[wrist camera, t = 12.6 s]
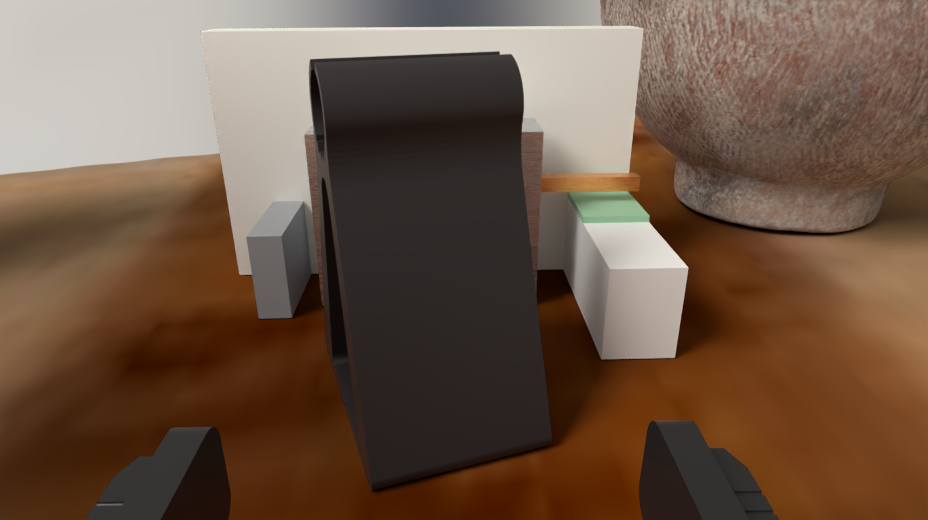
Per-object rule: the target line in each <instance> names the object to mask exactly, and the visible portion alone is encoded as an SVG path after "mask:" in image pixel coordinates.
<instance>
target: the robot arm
mask: <svg viewBox="0 0 928 520" xmlns="http://www.w3.org/2000/svg"><path fill="white" fill-rule="evenodd" d="M639 500H640V508H641V513H642V517H643V520H779V519H778V517H777V516H776V515H774V514H773V509H772V507H771V506H770V504H769V503H768V501H767V499H766V498H765V496H762V494H761V490H760V488H759V486H758V485H757V483H756V481H755V480H754V478H753V477H752V475H751V473H750V472H749V470H748V468H747V467H745V466H744V465H743V464H742V463H741V462H740V461H738V460H737V459H736V458H735V457H734V456H732V455H731V454H730V453H729V452H728V451H726V450H725V449H724V448H709V447H708V445H707V443H706V441H705V440H704V438H703V436H702V434H701V432H700V431H699V429H698V427H697V425H696V424H695V423H694V422H693V421H651V422H650V424H649V426H648V430H647V436H646V443H645V450H644V456H643V463H642V469H641V476H640V483H639ZM230 502H231V495H230V487H229V481H228V476H227V471H226V465H225V460H224V455H223V449H222V444H221V438H220V434H219V431H218V430H217V428H216V427H174V428H171V429H170V430H169V431H168V433H167V434H166V435H165V437H164V439H163V440H162V442H161V444H160V445H159V447H158V448H157V450H156V452H155V453H154V455H153V456H152V457H138V458H137V459H136V460H134V461H133V462H132V463H131V464H129V465H128V466H127V467H126V468H125V469H123V470H122V471H121V472H120V473H118V474H117V475H116V476H115V477H114V478H113V479H112V480H111V482H110V483H109V485H108V486H107V488H106V489H105V491H104V492H103V494H102V495H101V497H100V498H99V500H98V501H97V506H96V507H93V509H92V510H91V512H90V513H89V515H88V516H87V518H86V519H85V520H228V518H229V512H230Z"/></svg>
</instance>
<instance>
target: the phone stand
mask: <svg viewBox="0 0 928 520" xmlns="http://www.w3.org/2000/svg"><path fill="white" fill-rule="evenodd" d="M309 91H310V103H311V112H312V121H313V130H314V139H315V151H316V165H317V183H318V202H319V221H320V239H321V258H322V276H323V295H324V314H325V332H326V344H327V349H328V353H329V356H330V359H331V363H332V366H333V369H334V372H335V376H336V379H337V382H338V385H339V389H340V392H341V395H342V398H343V402H344V405H345V406H346V410H347V415H348V418H349V421H350V424H351V428H352V431H353V434H354V437H355V441H356V444H357V447H358V450H359V454H360V457H361V460H362V463H363V467H364V470H365V473H366V476H367V480H368V483H369V486H370V489H371V491H372V490H376V489H380V488H384V487H388V486H392V485H396V484H400V483H404V482H408V481H411V480H415V479H419V478H423V477H427V476H431V475H435V474H439V473H443V472H447V471H451V470H455V469H458V468H462V467H466V466H470V465H474V464H478V463H482V462H486V461H490V460H494V459H498V458H501V457H505V456H509V455H513V454H517V453H521V452H525V451H529V450H533V449H537V448H541V447H545V446H548V445H551V444H552V432H551V423H550V414H549V405H548V396H547V387H546V378H545V369H544V360H543V351H542V342H541V333H540V324H539V315H538V306H537V297H536V288H535V279H534V270H533V261H532V252H531V243H530V234H529V225H528V216H527V207H526V198H525V189H524V180H523V171H522V157H521V137H522V123H523V114H524V92H523V84H522V79H521V74H520V71H519V68H518V65H517V62H516V60H515V59H514V57H513V56H512V54H501V55H500V51H495V52H471V53H447V54H422V55H398V56H374V57H349V58H325V59H310V62H309Z"/></svg>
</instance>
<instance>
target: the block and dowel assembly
mask: <svg viewBox="0 0 928 520" xmlns="http://www.w3.org/2000/svg"><path fill="white" fill-rule="evenodd" d="M543 135H544V131H543V130H542V129H541V127H540V126H539V124H538V123H537V121H536V120H535V118H523V123H522V137H521V157H522V171H523V180H524V189H525V198H526V207H527V216H528V225H529V234H530V243H531V252H532V261H533V270H534V279H535V288H537V266H538V244H539V222H540V201H541V193H545V192H615V191H639V184H640V176H639V175H638V174H637V173H583V174H542V157H543ZM304 139H305V148H306V158H307V167H308V177H309V186H310V196H311V205H312V214H313V224H314V233H315V243H316V252H317V262H318V271H319V280H320V290H321V299H322V305H324V295H323V276H322V258H321V239H320V221H319V202H318V183H317V165H316V151H315V139H314V130H313V125H312V126H311V127H310V128H309V130H308V131H307V132H306V133H305V134H304Z"/></svg>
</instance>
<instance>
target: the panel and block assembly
mask: <svg viewBox="0 0 928 520" xmlns="http://www.w3.org/2000/svg"><path fill="white" fill-rule="evenodd" d="M643 30H644V28H639V27H635V26H536V27H535V26H530V27H529V26H528V27H527V26H526V27H390V28H389V27H385V28H381V27H380V28H241V29H240V28H238V29H211V30H206V31H201V32H200V33H201V40H202V45H203V52H204V58H205V64H206V71H207V77H208V83H209V89H210V95H211V101H212V108H213V114H214V120H215V126H216V132H217V139H218V145H219V151H220V157H221V164H222V170H223V176H224V182H225V188H226V195H227V201H228V207H229V213H230V219H231V226H232V232H233V238H234V244H235V250H236V256H237V263H238V269H239V275H252V278H253V285H254V291H255V298H256V304H257V311H258V317H259V319H266V318H292V317H293V314H294V312H295V310H296V308H297V305H298V303H299V301H300V299H301V296H302V294H303V292H304V290H305V288H306V285H307V283H308V281H309V279H310V276H311V274H319V271H318V262H317V252H316V243H315V233H314V224H313V214H312V205H311V196H310V186H309V177H308V167H307V158H306V148H305V139H304V134H305V133H306V132H307V131H308V130H309V128H310V127H311V126H312V125H313V121H312V112H311V103H310V91H309V62H310V59H325V58H349V57H374V56H398V55H422V54H447V53H471V52H495V51H500V55H501V54H512V56H513V57H514V59H515V60H516V62H517V65H518V68H519V71H520V74H521V79H522V84H523V92H524V114H523V118H535V120H536V121H537V123H538V124H539V126H540V127H541V129H542V130H543V131H544V135H543V157H542V174H583V173H629V167H630V157H631V147H632V138H633V128H634V118H635V108H636V99H637V89H638V79H639V69H640V60H641V50H642V40H643ZM649 218H650V216H649V215H648V213H647V212H646V211H645V210H644V209H643V208H642V207H641V206H640V204H639V203H638V202H637V201H636V200H635V199H634V198H633V197H632V196H631V194H630V193H629V192H628V191H615V192H545V193H541V201H540V222H539V244H538V266H537V270H547V269H563V270H564V273H565V275H566V277H567V280H568V282H569V285H570V287H571V289H572V292H573V294H574V296H575V299H576V301H577V303H578V306H579V308H580V310H581V313H582V315H583V317H584V320H585V322H586V325H587V327H588V329H589V332H590V334H591V336H592V339H593V341H594V343H595V346H596V348H597V350H598V353H599V355H600V357H601V359H644V358H675V354H676V347H677V341H678V334H679V328H680V321H681V314H682V308H683V301H684V294H685V288H686V281H687V274H688V267H687V265H686V264H685V263H684V262H683V261H682V260H681V259H680V257H679V256H678V255H677V254H676V253H675V252H674V250H673V249H672V248H671V247H670V246H669V245H668V244H667V242H666V241H665V240H664V239H663V238H662V237H661V235H660V234H659V233H658V232H657V231H656V230H655V229H654V227H653V226H652V225H651V224H650V223H649Z"/></svg>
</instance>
